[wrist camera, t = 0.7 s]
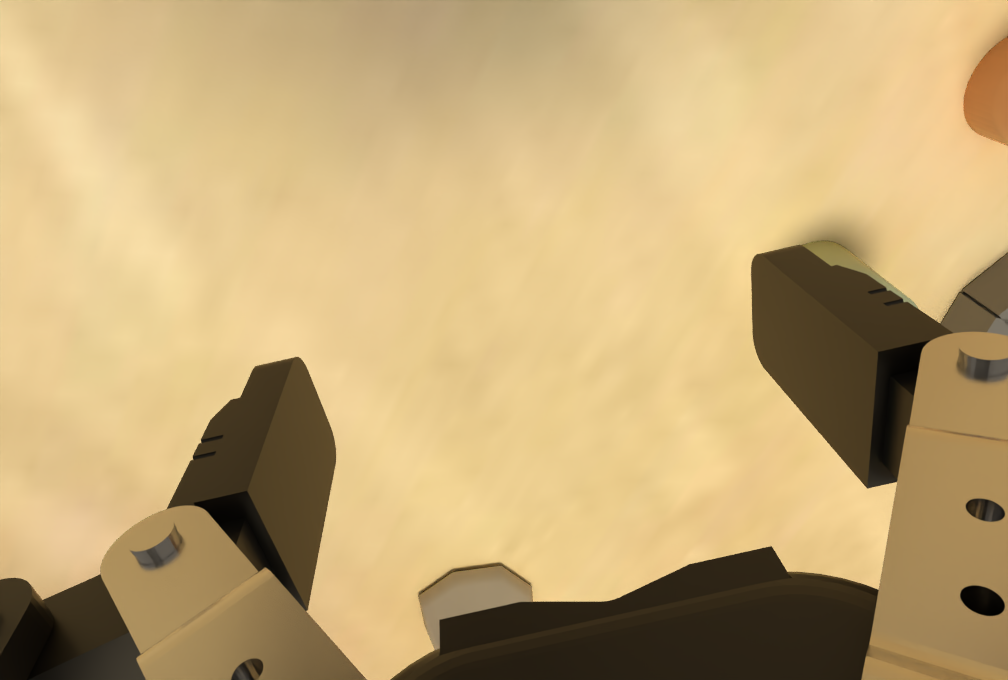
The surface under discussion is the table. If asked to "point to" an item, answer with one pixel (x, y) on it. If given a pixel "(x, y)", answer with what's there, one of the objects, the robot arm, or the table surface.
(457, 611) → the flask
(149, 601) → the robot arm
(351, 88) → the table surface
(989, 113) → the terracotta bead
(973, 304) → the ring tray
